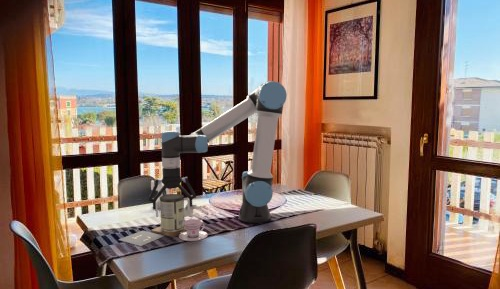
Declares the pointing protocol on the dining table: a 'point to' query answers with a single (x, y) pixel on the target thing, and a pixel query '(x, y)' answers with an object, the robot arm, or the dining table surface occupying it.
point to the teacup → (193, 230)
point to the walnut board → (172, 234)
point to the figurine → (159, 190)
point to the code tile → (141, 238)
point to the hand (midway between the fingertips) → (173, 215)
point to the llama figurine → (192, 211)
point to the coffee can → (172, 212)
